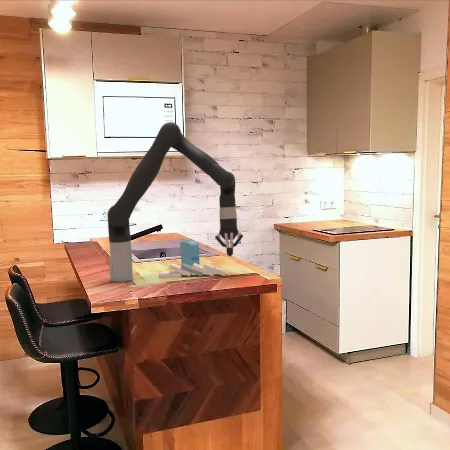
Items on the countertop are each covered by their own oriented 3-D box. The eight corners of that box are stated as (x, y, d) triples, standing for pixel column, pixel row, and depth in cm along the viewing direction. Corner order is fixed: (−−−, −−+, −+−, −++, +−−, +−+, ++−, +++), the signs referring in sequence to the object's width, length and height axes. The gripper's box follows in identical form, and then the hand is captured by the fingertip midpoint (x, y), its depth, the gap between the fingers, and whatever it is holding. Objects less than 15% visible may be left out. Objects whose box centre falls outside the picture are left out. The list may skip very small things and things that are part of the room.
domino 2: (189, 276, 223) (168, 268, 224) (191, 274, 228) (170, 266, 229) (191, 272, 223) (170, 264, 223) (192, 270, 228) (172, 262, 228)
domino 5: (224, 276, 222) (202, 268, 222) (224, 273, 227) (203, 266, 227) (225, 272, 222) (204, 264, 222) (226, 270, 227) (205, 262, 227)
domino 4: (212, 276, 222) (191, 268, 223) (213, 274, 227) (192, 266, 227) (214, 272, 222) (193, 264, 222) (215, 270, 227) (194, 262, 227)
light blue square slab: (199, 266, 247) (198, 242, 246) (191, 267, 245) (190, 243, 244) (189, 263, 258) (187, 239, 256) (181, 264, 255) (179, 240, 254)
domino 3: (201, 276, 223) (180, 268, 223) (202, 274, 228) (181, 266, 228) (202, 272, 223) (181, 264, 223) (204, 270, 228) (183, 262, 228)
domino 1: (181, 277, 223) (158, 278, 224) (182, 275, 228) (160, 275, 229) (181, 273, 223) (158, 273, 223) (182, 271, 228) (160, 271, 228)
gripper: (243, 215, 226) (244, 254, 227) (213, 217, 226) (215, 255, 228) (243, 217, 218) (245, 256, 220) (212, 218, 219) (214, 258, 220)
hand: (230, 256), depth 224 cm, fingers closed
